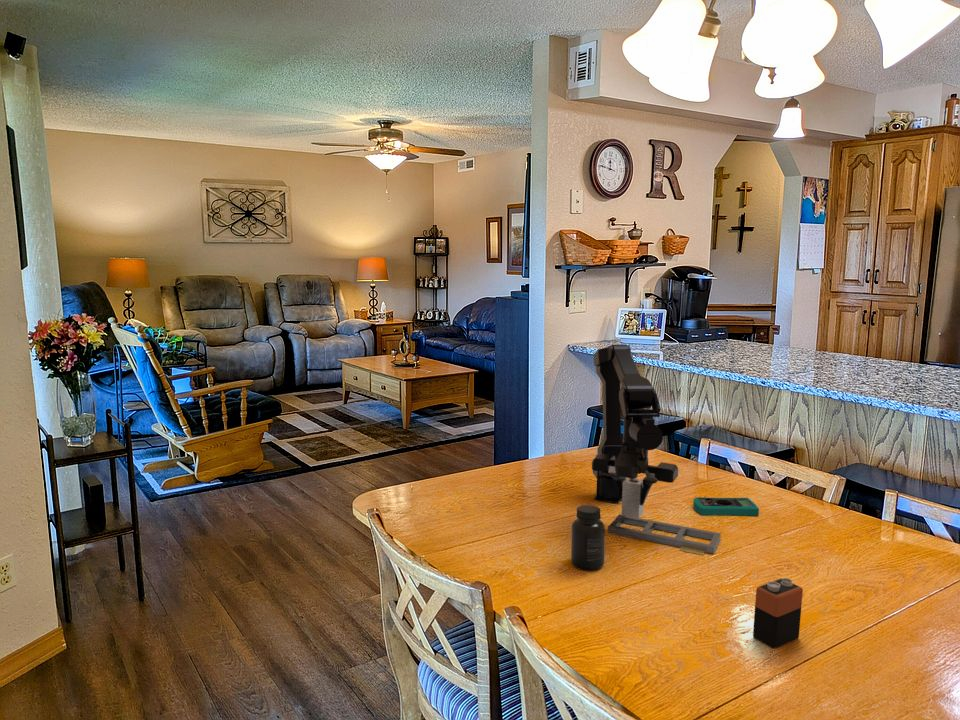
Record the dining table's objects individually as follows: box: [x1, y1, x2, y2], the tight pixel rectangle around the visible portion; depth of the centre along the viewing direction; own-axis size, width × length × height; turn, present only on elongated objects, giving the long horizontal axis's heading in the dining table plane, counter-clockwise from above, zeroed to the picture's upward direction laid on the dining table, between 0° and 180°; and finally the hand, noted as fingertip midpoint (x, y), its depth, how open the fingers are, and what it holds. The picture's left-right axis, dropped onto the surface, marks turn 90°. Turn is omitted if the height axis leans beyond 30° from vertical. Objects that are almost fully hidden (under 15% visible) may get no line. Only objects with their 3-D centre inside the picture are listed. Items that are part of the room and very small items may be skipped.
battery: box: [752, 577, 804, 649], centre depth 114 cm, size 4×7×10 cm, turn 121°
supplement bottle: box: [570, 504, 606, 571], centre depth 140 cm, size 7×7×12 cm
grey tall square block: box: [621, 477, 645, 518], centre depth 158 cm, size 4×4×8 cm
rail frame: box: [607, 513, 722, 556], centre depth 155 cm, size 23×10×2 cm, turn 62°
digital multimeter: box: [692, 496, 760, 517], centre depth 171 cm, size 7×15×3 cm, turn 88°
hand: (632, 503), depth 158 cm, fingers closed on grey tall square block, 4 cm apart
